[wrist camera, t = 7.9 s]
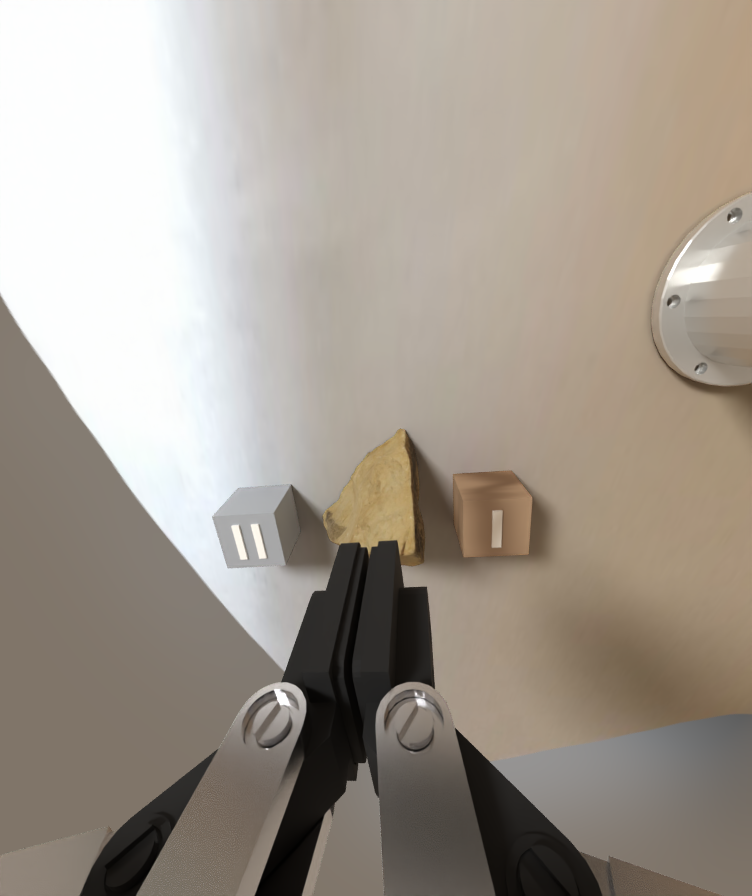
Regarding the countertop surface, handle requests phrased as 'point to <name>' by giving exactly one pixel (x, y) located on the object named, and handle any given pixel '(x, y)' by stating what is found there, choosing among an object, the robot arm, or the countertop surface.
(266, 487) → the grey block
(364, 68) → the countertop surface
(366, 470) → the rock
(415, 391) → the countertop surface
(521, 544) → the walnut block
